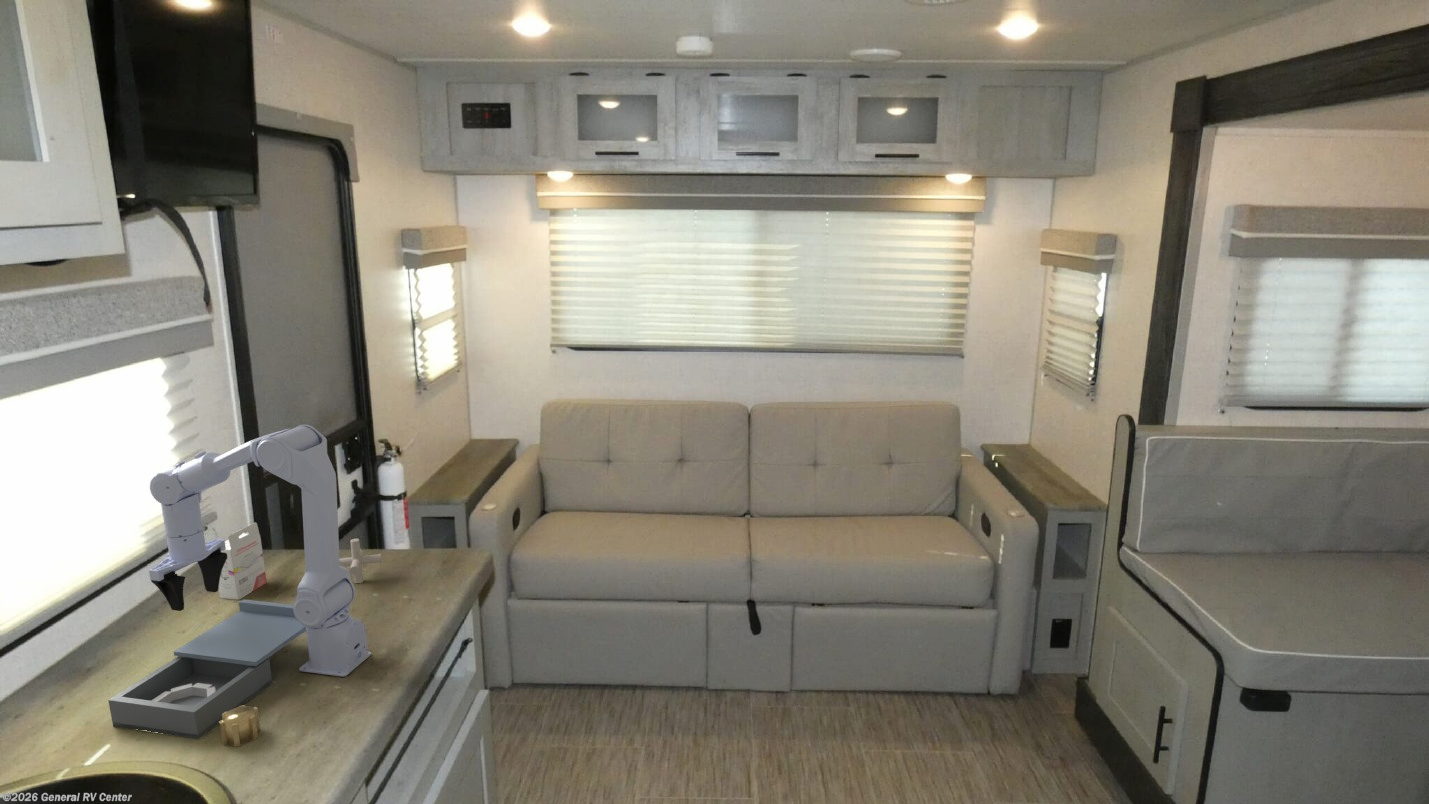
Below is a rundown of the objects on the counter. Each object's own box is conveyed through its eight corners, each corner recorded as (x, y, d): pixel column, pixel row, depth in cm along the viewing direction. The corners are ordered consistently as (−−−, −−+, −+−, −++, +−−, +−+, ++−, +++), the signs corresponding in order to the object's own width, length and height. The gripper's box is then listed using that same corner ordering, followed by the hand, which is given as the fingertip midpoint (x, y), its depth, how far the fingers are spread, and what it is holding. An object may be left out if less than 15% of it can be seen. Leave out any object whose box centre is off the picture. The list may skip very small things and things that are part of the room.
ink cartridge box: (248, 581, 181) (240, 519, 178) (267, 583, 180) (259, 521, 177) (218, 598, 173) (208, 534, 170) (238, 600, 172) (229, 536, 169)
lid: (320, 620, 153) (318, 607, 152) (256, 666, 137) (254, 652, 137) (245, 611, 156) (243, 599, 156) (174, 655, 141) (172, 642, 140)
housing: (272, 683, 142) (269, 658, 141) (198, 739, 126) (194, 712, 125) (194, 672, 145) (190, 648, 144) (113, 726, 129) (108, 700, 128)
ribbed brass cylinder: (267, 729, 129) (264, 707, 128) (244, 749, 124) (240, 726, 123) (238, 725, 130) (235, 703, 129) (214, 744, 125) (211, 721, 124)
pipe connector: (337, 575, 184) (333, 534, 182) (384, 570, 187) (380, 529, 185) (331, 594, 175) (326, 551, 172) (380, 588, 178) (376, 546, 175)
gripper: (200, 516, 155) (209, 581, 158) (130, 545, 141) (142, 615, 145) (230, 519, 154) (239, 585, 157) (163, 548, 140) (175, 620, 143)
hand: (195, 600), depth 150 cm, fingers open, 7 cm apart
